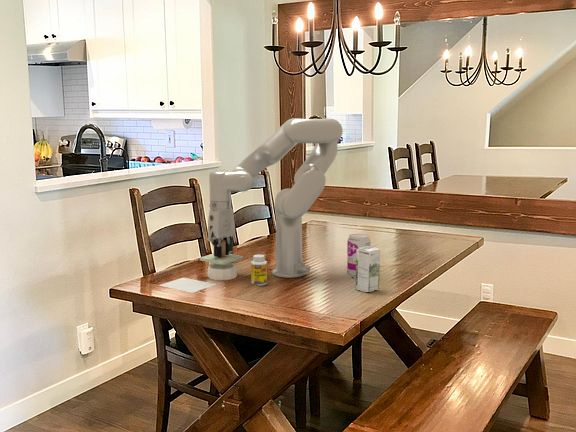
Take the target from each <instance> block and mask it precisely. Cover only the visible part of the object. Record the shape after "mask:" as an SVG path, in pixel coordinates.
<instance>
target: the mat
mask: <svg viewBox="0 0 576 432" xmlns="http://www.w3.org/2000/svg"><path fill="white" fill-rule="evenodd" d="M216 285H217V283H213V282H207V281H203V280H197V279H192V278H187V277H181V278H177V279H174V280H171V281H168V282H165V283H161V284H159V285H158V287H159V286H160V287H164V288H169V289H172V290H179V291H182V292H186V293H191V294H195V292H196V293H197V292H199V291H201V290H204V289H207V288H210V287H213V286H216Z"/></svg>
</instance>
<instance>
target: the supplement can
mask: <svg viewBox="0 0 576 432" xmlns="http://www.w3.org/2000/svg"><path fill="white" fill-rule="evenodd" d="M346 245H347V249H346V250H347V257H346V259H347V262H346V263H347V265H346V266H347V267H346V270H347V271H346V274H347V276H348V277H349V276H350V277H349V278H351V277H355V278H354V279H356V250H357V249H358V248H362V247H366V246H371V238H370V236H369V235H368V234H365V233H353V234H349V235H348V238H347V243H346Z"/></svg>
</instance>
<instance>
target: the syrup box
mask: <svg viewBox="0 0 576 432" xmlns="http://www.w3.org/2000/svg"><path fill="white" fill-rule="evenodd" d="M380 265H381V249H380V248H378V247H375V246H371V245H370V246H366V247H362V248H358V249H357V250H356V278H355V290H356V289H357V290H356V291H358V290H362V291H365V292H371V291H374V290H377V289H379V290H380V269H381V268H380ZM377 291H378V290H377ZM365 292H364V293H365ZM374 292H375V291H374ZM371 293H372V292H371Z"/></svg>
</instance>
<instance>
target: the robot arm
mask: <svg viewBox="0 0 576 432" xmlns="http://www.w3.org/2000/svg"><path fill="white" fill-rule="evenodd" d="M342 135H343V127H342V124H341V122H339V121H338V119H337V120H336V119H335V118H327V117H326V118H296V117H295V118H294V117H292V118H290V119H287V120H286V121H285V122H284V123H283V124H282V125H280V126H279V127H278V129H276V130H275V131H274V132H273V133H272V134H271V135H270V136H269V137H268V138H267V139H266V140H265V141H264V142H262V144H260V145H259V146H258V147H257V148H255V150H253V151H252V152H251V153H250V154H248V156H246V157H245V158H244V159H243V160H242V161H241V162H240V163H239V164H238V165H237V166H235V168H234V169H232V171H228V170H220V169H219V170H212V171H210V172H209V176H208V177H209V178H208V180H209V181H208V182H209V210H208V211H209V212H208V218H207V219H208V220H207V241H208V242H209V243H211V244H212V247H213V254H214V256H215V257H222V247H221V246H220V241H221V238H222V240H226V255H229V244H230V240H231V238H232V236H233V237H234V235H235V233H236V226H235V223H236V222H235V221H236V220H235V215H234V210H233V208H232V192H241V193H243V192H248V191H249V190H250V189H252V187H253V185H254V178H255V177H256V176H258V175H259V174H260V173H261V172H262V171H264V170H265V169H266V168H268V167H271V166H273V165H275V164H277V163H279V162H280V161H281V160H282V159H283V158H284V157H285V156H286V155H287V154H288V153H289V152H290V151H291V150H292V149H293V148H294V147H296V146H297V145H298V144H314V147H313V148H312V150H311V152H310V154H308V157H307V158H306V159H305V160H304V162H303V163H302V164H301V166H300V167H299V168H298V169H297V170H296V172H295V174H294V177H293V181H294V184H293V186H292V187H291V188H284V189H281V190H280V191H279V192H278V193H276V196H275V198H274V214H275V237H276V238H275V241H276V244H275V245H276V246H275V247H276V249H275V250H276V251H275V252H276V268H273V269H272V275H273V276H276V277H278V278H288V279H289V278H290V279H291V278H300V277H303V276H306V275H307V274H308V273H310V271H311V266H308V265H306V264H305V261H303V216H304V215H305V214H306V213H307V212H308V210H309V209H310V208H311V206H313V204H314V203H315V201H316V200H317V199H318V197H320V195H321V193H322V192H323V191H324V189H325V186H326V183H327V182H326V181H327V179H326V175H325V174H326V173H327V172H328V170H329V168H331V166H332V164H333V162H334V160H336V157H337V154H338V141H339V140H340V139H341V138H342ZM216 239H217V241H216Z"/></svg>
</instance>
